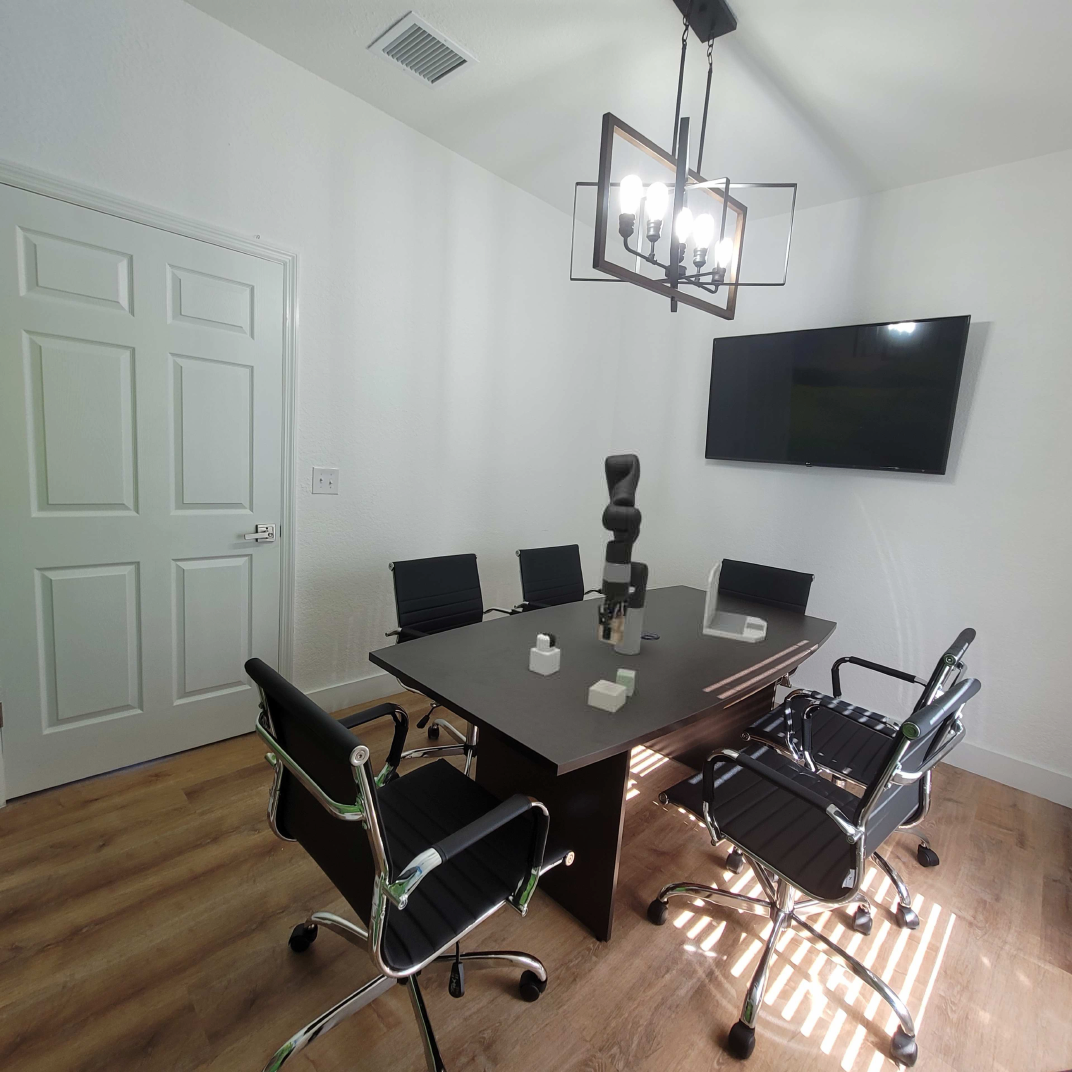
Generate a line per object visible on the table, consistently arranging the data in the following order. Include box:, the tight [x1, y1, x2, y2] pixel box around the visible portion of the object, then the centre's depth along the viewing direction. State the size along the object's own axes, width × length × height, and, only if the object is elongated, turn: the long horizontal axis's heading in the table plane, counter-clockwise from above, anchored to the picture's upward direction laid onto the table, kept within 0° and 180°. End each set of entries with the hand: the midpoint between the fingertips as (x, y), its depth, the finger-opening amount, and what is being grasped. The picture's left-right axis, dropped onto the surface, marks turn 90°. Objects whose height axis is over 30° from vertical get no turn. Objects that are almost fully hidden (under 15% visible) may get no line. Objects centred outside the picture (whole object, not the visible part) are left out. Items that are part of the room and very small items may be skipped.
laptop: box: [702, 562, 768, 644], centre depth 236 cm, size 33×24×26 cm
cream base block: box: [587, 679, 627, 713], centre depth 156 cm, size 8×8×5 cm
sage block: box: [615, 668, 636, 697], centre depth 164 cm, size 5×5×6 cm
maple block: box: [598, 614, 625, 645], centre depth 153 cm, size 5×5×7 cm
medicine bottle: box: [528, 632, 561, 677], centre depth 176 cm, size 7×7×12 cm
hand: (611, 636), depth 153 cm, fingers closed on maple block, 5 cm apart
